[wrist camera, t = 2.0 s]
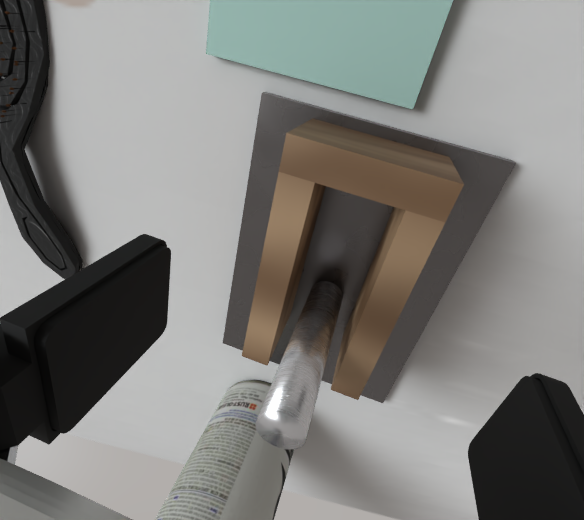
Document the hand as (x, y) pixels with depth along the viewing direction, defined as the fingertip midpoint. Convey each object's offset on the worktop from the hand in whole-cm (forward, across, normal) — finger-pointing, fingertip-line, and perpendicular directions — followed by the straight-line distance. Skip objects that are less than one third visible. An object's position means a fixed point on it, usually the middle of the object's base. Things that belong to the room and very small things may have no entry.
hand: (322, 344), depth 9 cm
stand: (+11, 0, +4) cm, 12 cm away
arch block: (+11, 0, +2) cm, 11 cm away
